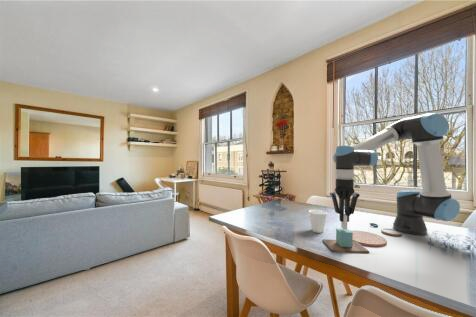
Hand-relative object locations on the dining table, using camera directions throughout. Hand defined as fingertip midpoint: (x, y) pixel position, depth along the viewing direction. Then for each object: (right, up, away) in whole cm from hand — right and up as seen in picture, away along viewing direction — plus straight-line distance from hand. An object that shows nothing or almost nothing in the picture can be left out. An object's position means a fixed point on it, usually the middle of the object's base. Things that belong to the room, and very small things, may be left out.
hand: (344, 228), depth 95 cm
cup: (-4, -9, +20) cm, 23 cm away
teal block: (0, -8, 0) cm, 8 cm away
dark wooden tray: (0, -9, 0) cm, 9 cm away
